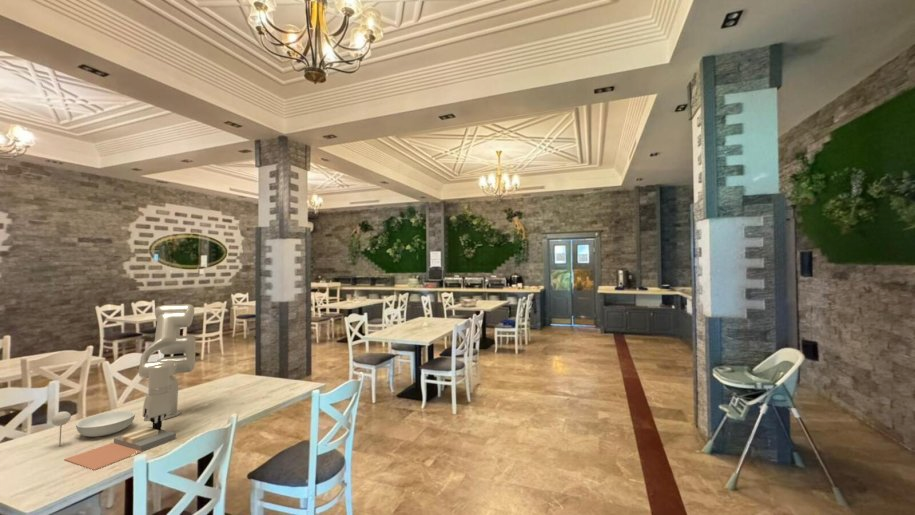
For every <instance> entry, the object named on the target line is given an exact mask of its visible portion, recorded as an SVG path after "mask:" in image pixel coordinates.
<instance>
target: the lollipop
mask: <svg viewBox="0 0 915 515" xmlns="http://www.w3.org/2000/svg"><path fill="white" fill-rule="evenodd" d="M71 418H72V415H71V413H70V412H68V411H59V412H57V413H55V414H54V415H53V416H52V418H51V424H53V425H54V426H56V427H58V426H59V440H58V447H61V445H62V444H61V442H62V426H63V425H66V424H68V423H69V422H70V421H71Z"/></svg>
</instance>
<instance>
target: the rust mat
mask: <svg viewBox="0 0 915 515" xmlns="http://www.w3.org/2000/svg"><path fill="white" fill-rule="evenodd" d="M136 451H137V453H136ZM140 452H142V453H143V451H139V450H136V449H132V448H129V447H125V446H122V445H118V444H115V443H114V442H111V443H108V444H105V445H102V446H99V447H96V448H93V449H90V450H87V451H84V452H82V453H78V454H75V455H73V456H69V457H66V458H64V459H63V460H64V461H65V462H68V463H71V464H75V465H77V466H79V465H80V467H82V466H83V468H85V467H86V469H88V468H89V469H88V470H91V469H92V470H91V471H94V470H95V471H97V470H100V469H102V468H104V466H105V467H107V466H106V465H108V466H110V465H113V464H115V462H116V463H118V462H120V460H121V461H123V460H125V459H124V458H126V457H129V458H131V457H132V456H131V455H132V454H134V453H135V454H136V455H139V454H141V453H140ZM130 456H131V457H130ZM122 459H123V460H122ZM126 459H127V458H126ZM117 461H118V462H117ZM112 463H113V464H112ZM109 464H110V465H109ZM101 467H102V468H101ZM99 468H100V469H99ZM96 469H97V470H96Z"/></svg>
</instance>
